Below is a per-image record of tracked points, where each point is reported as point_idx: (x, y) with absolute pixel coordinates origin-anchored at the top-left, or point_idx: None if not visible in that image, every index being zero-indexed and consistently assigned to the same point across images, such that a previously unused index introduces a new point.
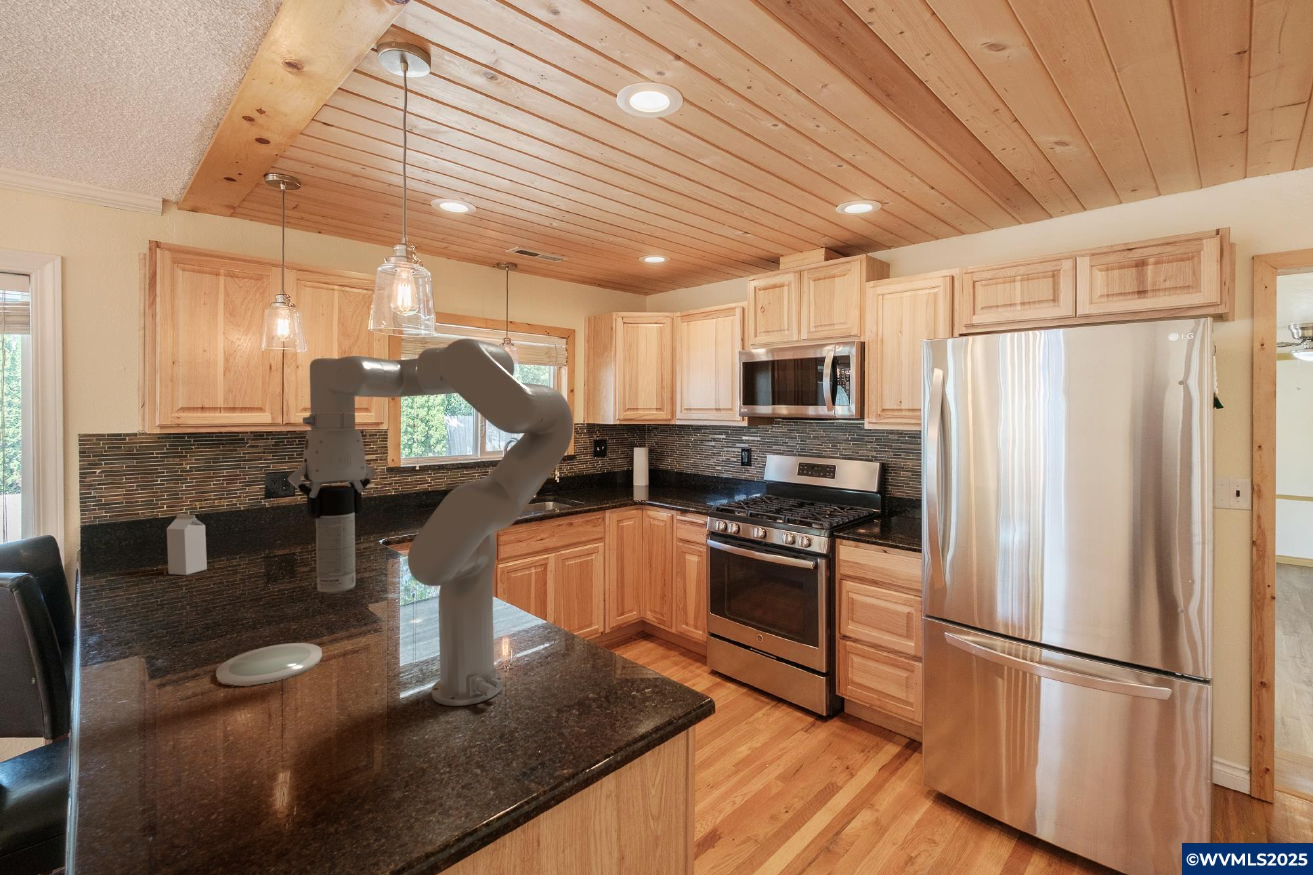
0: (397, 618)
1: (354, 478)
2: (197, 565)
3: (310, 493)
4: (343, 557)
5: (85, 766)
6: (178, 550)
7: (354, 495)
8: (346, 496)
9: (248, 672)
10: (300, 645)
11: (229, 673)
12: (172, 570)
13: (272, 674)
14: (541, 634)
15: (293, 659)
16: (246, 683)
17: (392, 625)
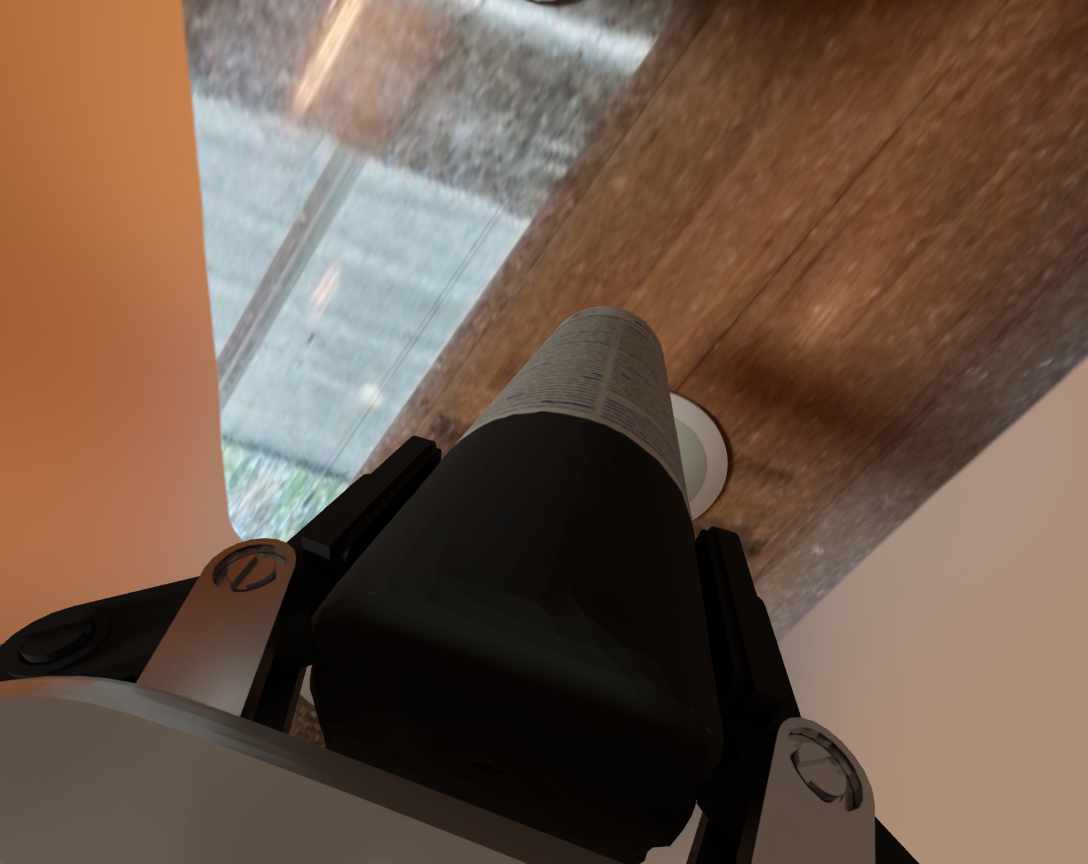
0: (387, 438)
1: (160, 744)
2: None
3: (871, 802)
4: (612, 333)
5: (1047, 391)
6: None
7: (356, 558)
8: (503, 512)
9: (694, 456)
10: None
11: (706, 483)
12: None
13: (684, 411)
14: (225, 17)
15: None
16: (718, 429)
17: (412, 419)
